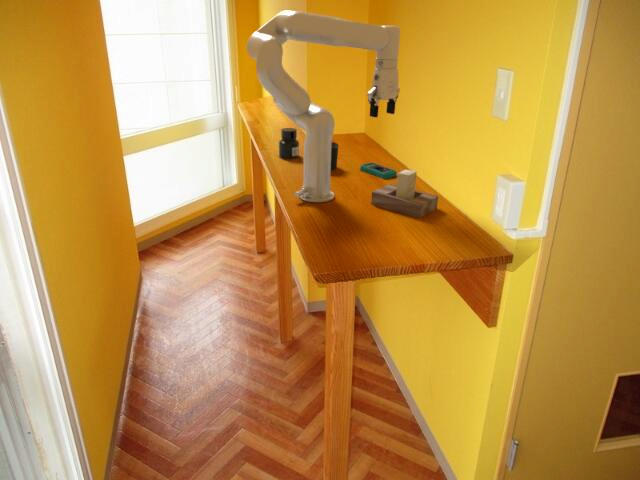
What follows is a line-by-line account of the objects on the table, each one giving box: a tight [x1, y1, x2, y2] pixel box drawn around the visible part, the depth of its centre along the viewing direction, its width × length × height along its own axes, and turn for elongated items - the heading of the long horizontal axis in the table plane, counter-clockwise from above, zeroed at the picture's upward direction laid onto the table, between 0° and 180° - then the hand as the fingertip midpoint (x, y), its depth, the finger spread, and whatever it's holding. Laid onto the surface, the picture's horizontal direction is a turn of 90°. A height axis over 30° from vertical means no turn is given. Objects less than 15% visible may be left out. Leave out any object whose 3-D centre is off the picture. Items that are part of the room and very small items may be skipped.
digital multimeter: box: [360, 162, 398, 180], centre depth 218 cm, size 7×15×3 cm, turn 38°
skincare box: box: [396, 169, 417, 200], centre depth 182 cm, size 6×4×12 cm
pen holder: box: [331, 141, 339, 171], centre depth 221 cm, size 9×9×10 cm
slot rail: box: [370, 183, 439, 219], centre depth 183 cm, size 12×19×4 cm, turn 50°
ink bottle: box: [278, 127, 300, 159], centre depth 236 cm, size 10×9×12 cm
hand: (382, 115), depth 189 cm, fingers open, 9 cm apart
